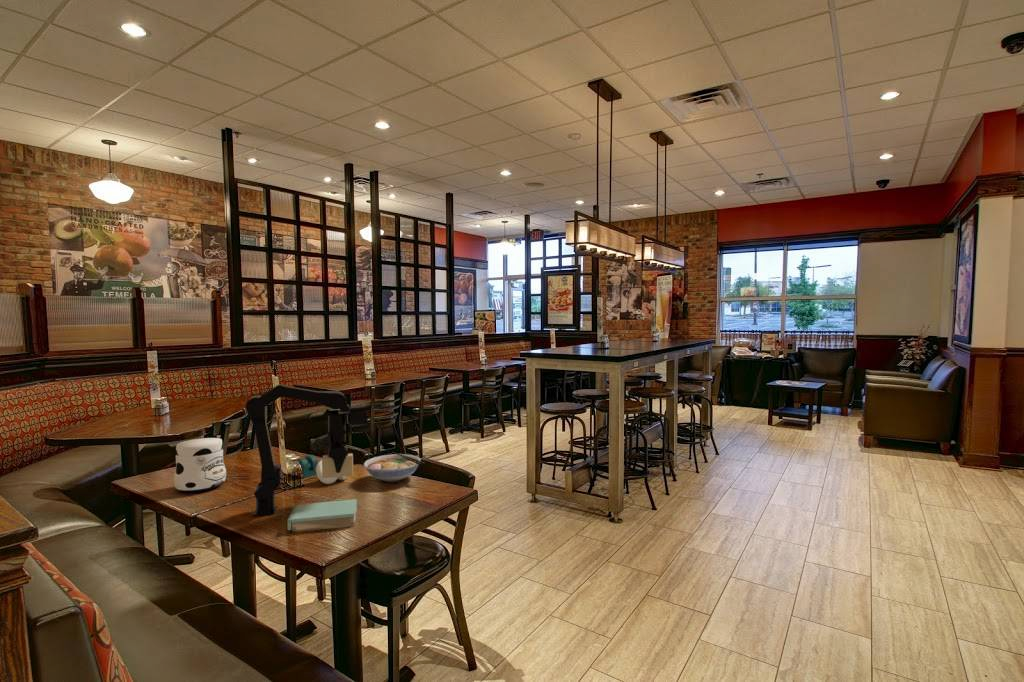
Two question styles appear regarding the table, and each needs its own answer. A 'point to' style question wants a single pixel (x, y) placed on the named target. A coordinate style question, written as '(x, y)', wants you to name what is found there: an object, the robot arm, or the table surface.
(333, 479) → the white lumpy figurine
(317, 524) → the box
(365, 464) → the ramen bowl
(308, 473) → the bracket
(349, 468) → the tan rectangular block
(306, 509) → the lid
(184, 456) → the milk container
